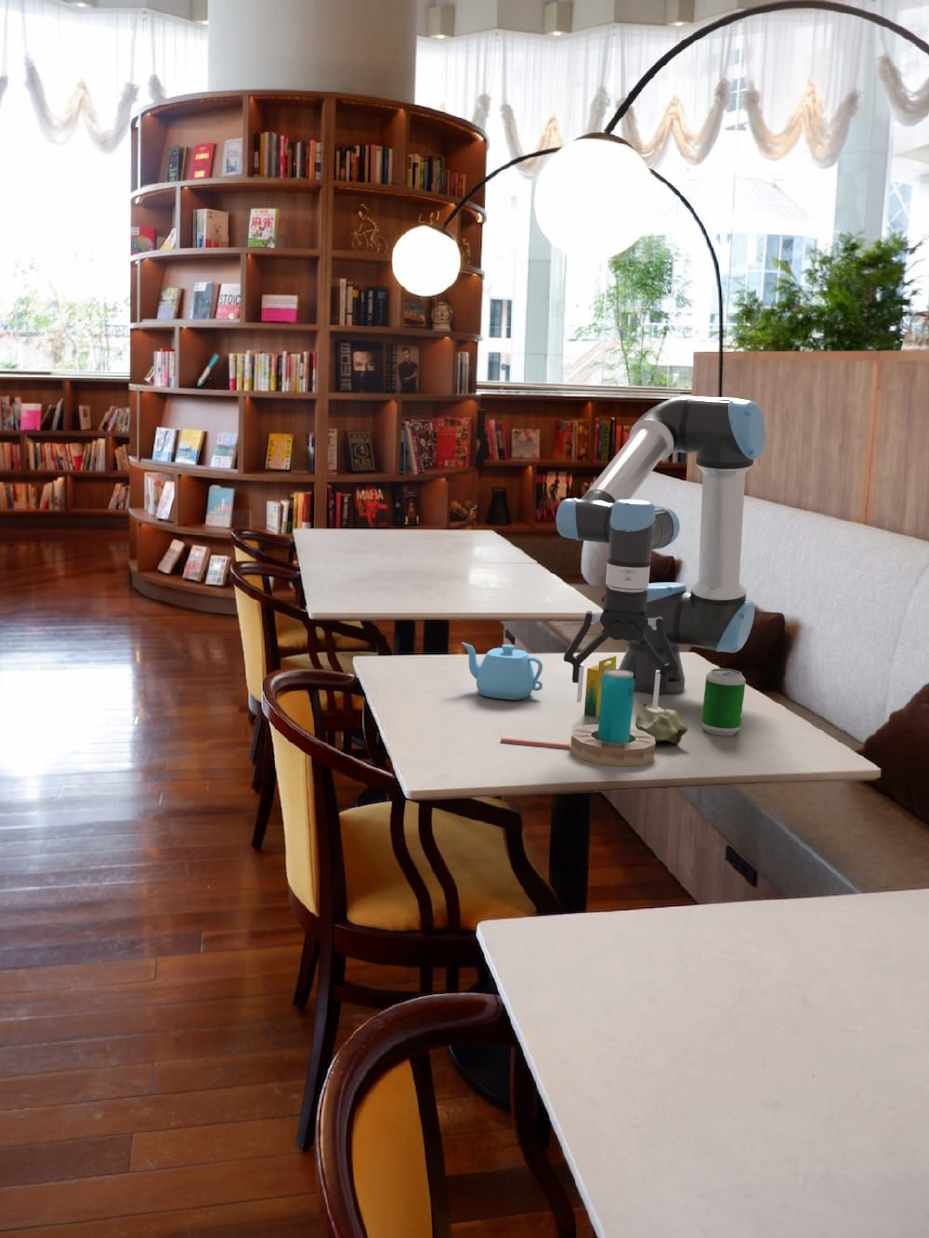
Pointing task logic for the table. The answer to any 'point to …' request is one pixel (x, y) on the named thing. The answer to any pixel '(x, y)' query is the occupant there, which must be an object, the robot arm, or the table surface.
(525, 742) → the stick
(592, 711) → the crayon box
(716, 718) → the soda can
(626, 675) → the beverage can
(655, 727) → the fruit
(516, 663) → the teapot
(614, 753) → the tan flat ring
